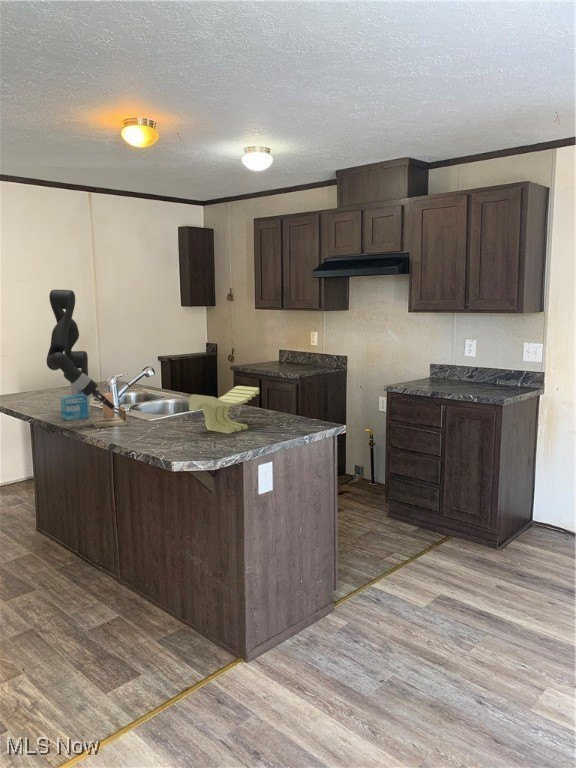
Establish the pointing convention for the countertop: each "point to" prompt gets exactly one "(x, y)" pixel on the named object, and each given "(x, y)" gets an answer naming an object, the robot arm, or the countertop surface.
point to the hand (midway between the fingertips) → (112, 406)
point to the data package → (74, 407)
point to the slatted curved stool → (222, 408)
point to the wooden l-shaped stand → (112, 420)
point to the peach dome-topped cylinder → (107, 411)
